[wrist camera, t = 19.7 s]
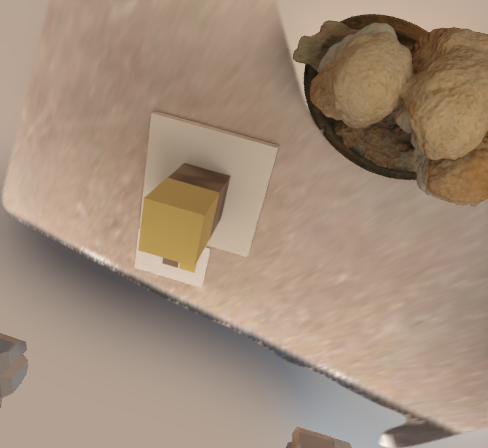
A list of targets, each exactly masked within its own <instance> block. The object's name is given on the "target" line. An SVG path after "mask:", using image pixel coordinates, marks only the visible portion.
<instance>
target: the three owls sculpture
mask: <svg viewBox="0 0 488 448" xmlns="http://www.w3.org/2000/svg"><path fill="white" fill-rule="evenodd" d="M293 59H294V60H295V61H296V62H300V63H305V64H306V65H305V72H304V88H305V89H304V90H305V96H306V100H307V104H308V107H309V110H310V113H311V115H312V117H313V119H314V121H315V123H316V125H317V126H318V128H319V129H320V130H321V129H323V126H326V134H325V132H324V133H323V134H324V136H325V138H326V139H327V140H328V141H329V142H330V143H331V144H332V146H333V147H334V148H336V150H338V151H339V152H340V153H341V154H342V155H344V156H345V157H346V158H348V159H349V160H350V161H352V162H353V163H355V164H356V165H358V166H360V167H362V168H364V169H366V170H368V171H370V172H372V173H376V174H379V175H382V176H385V177H389V178H395V179H404V180H405V179H406V180H410V179H413V180H415V179H417V184H418V186H419V188H420V189H421V190H423V191H424V192H425V193H426V194H427V195H431V196H434V197H436V198H440V199H441V200H445V201H448V202H450V203H455V204H457V205H468V204H469V205H471V206H476V205H477V204H479V203H480V202H481V201H484V200H485V199H487V198H488V34H484V33H480V32H473V31H471V30H469V29H460V28H440V29H434V30H432V31H431V32H427V31H426V30H424V29H422V28H421V27H419V26H417V25H415V24H412V23H410V22H407V21H404V20H402V19H399V18H395V17H391V16H386V15H376V14H371V15H370V14H369V15H360V16H354V17H351V18H347V19H345V20H343V21H341V22H336V21H326V22H324V24H323V25H322V26H321V29H320V32H319V33H317V34H315V35H314V36H311V37H309V36H303V37H301V39H300V41H299V44H298V48H297V49H296V50H295V51H294V54H293Z"/></svg>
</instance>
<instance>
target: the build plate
mask: <svg viewBox="0 0 488 448" xmlns="http://www.w3.org/2000/svg"><path fill="white" fill-rule="evenodd" d="M278 149H279V145H276V144H273V143H269V142H266V141H262V140H258V139H255V138H251V137H248V136H244V135H240V134H237V133H233V132H230V131H226V130H222V129H219V128H215V127H212V126H208V125H204V124H201V123H197V122H193V121H190V120H186V119H183V118H179V117H175V116H172V115H168V114H165V113H161V112H157V111H155V112H153V113H151V120H150V130H149V139H148V149H147V158H146V168H145V178H144V187H143V197H142V206H141V216H140V225H139V226H141V221H142V212H143V203H144V197H146V196H147V195H148V194H149V193H150V192H151V191H152V190H153V189H155V188H156V187H157V186H158V185H159V184H160V183H161V182H162V181H164V180H165V179H166V178H168V177H169V176H170V175H171V174H172V173H173V172H175V171H176V170H177V169H178V168H179V167H180V166H181V165H182V164H184V163H187V164H190V165H194V166H197V167H201V168H204V169H208V170H212V171H215V172H219V173H222V174H226V175H229V176H231V177H230V181H229V186H228V190H227V194H226V199H225V203H224V208H223V212H222V217H221V219H220V221H219V223H218V225H217V227H216V229H215V230H214V232H213V234H212V236H211V238H210V240H209V241H208V243H207V244H206V245H207V246H210V247H214V248H217V249H220V250H224V251H227V252H231V253H234V254H237V255H241V256H244V257H248V255H249V251H250V248H251V244H252V241H253V237H254V234H255V230H256V227H257V223H258V219H259V216H260V212H261V209H262V205H263V202H264V198H265V195H266V191H267V188H268V184H269V180H270V177H271V173H272V170H273V166H274V163H275V159H276V156H277V152H278Z"/></svg>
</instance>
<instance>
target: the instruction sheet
mask: <svg viewBox="0 0 488 448" xmlns="http://www.w3.org/2000/svg"><path fill="white" fill-rule="evenodd" d="M140 230H141V228H140V227H139V229H138V239H137V249H136V258H135V268H137V269H140V270H143V271H147V272H150V273H153V274H157V275H160V276H163V277H167V278H170V279H173V280H177V281H180V282H183V283H187V284H190V285H193V286H197V287H200V288H202V286H203V282H204V277H205V273H206V268H207V264H208V259H209V255H210V250H211V248H208V247H205V248H204V250H203V252H202V254H201V256H200V257H199V259H198V261H197V263H196V265H195V267H193V266H189V265H186V264H183V263H179V262H176V261H173V260H169V259H166V258H163V257H159V256H156V255H153V254H149V253H146V252H143V251H139V250H138V248H139V239H140Z"/></svg>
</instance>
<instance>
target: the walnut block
mask: <svg viewBox="0 0 488 448" xmlns="http://www.w3.org/2000/svg"><path fill="white" fill-rule="evenodd" d="M230 177H231V176H229V175H226V174H222V173H219V172H215V171H212V170H208V169H204V168H201V167H197V166H194V165H190V164H187V163H184V164H182V165H181V166H180V167H179V168H178V169H177V170H176V171H175V172H173V173H172V174H171V175H170V176H169V177H168V178H171V179H174V180H177V181H181V182H184V183H188V184H191V185H195V186H198V187H202V188H205V189H209V190H212V191H216V192H219V197H218V202H217V207H216V211H215V216H214V220H213V225H212V230H211V234H210V238H211V236H212V234H213V232H214V230H215V229H216V227H217V225H218V223H219V221H220V219H221V217H222V212H223V208H224V203H225V199H226V194H227V190H228V186H229V181H230ZM209 240H210V239H209Z"/></svg>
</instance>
